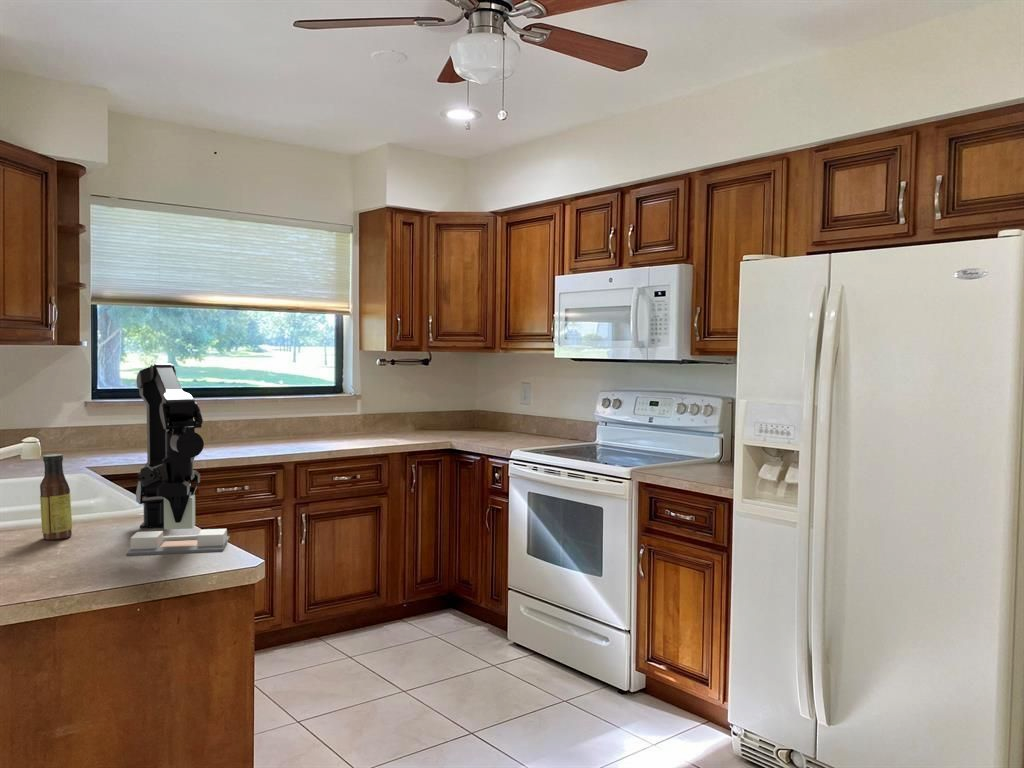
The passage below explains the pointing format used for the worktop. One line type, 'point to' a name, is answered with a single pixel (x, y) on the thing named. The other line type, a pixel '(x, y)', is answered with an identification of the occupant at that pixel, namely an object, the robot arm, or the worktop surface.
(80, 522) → the worktop surface
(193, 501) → the block
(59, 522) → the sauce bottle
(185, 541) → the rail board
